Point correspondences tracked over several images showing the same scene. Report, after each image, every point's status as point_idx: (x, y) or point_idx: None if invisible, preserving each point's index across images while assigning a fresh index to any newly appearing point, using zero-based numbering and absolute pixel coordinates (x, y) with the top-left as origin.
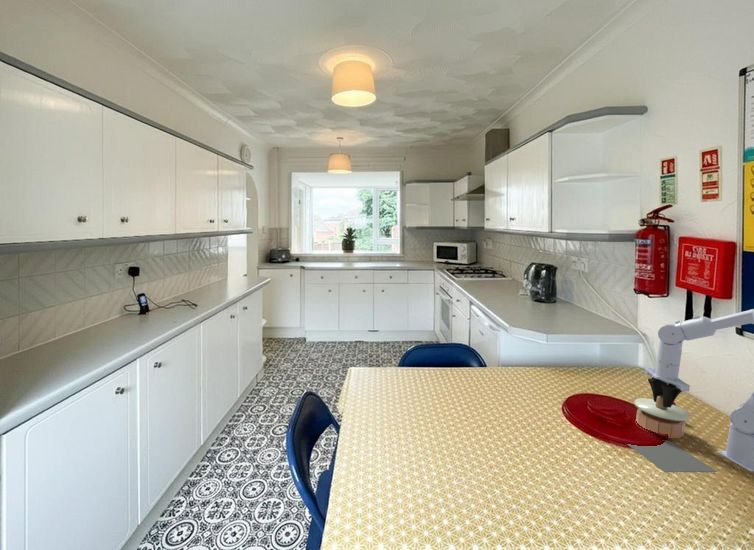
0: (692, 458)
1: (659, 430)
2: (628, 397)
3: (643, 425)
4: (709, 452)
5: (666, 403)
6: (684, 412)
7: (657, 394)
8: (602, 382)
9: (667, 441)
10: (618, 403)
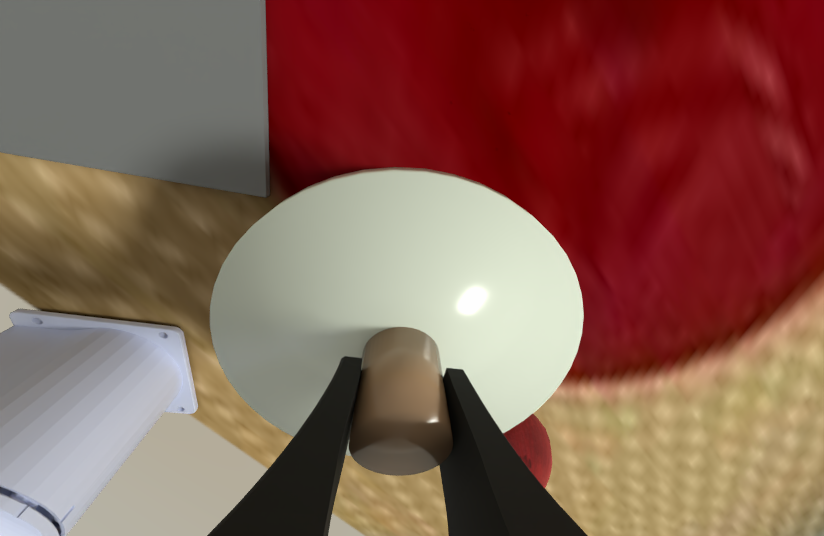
0: (55, 131)
1: None
2: (666, 410)
3: None
4: (184, 302)
5: (329, 390)
6: None
7: (461, 446)
8: (810, 426)
9: (255, 177)
10: (665, 324)
